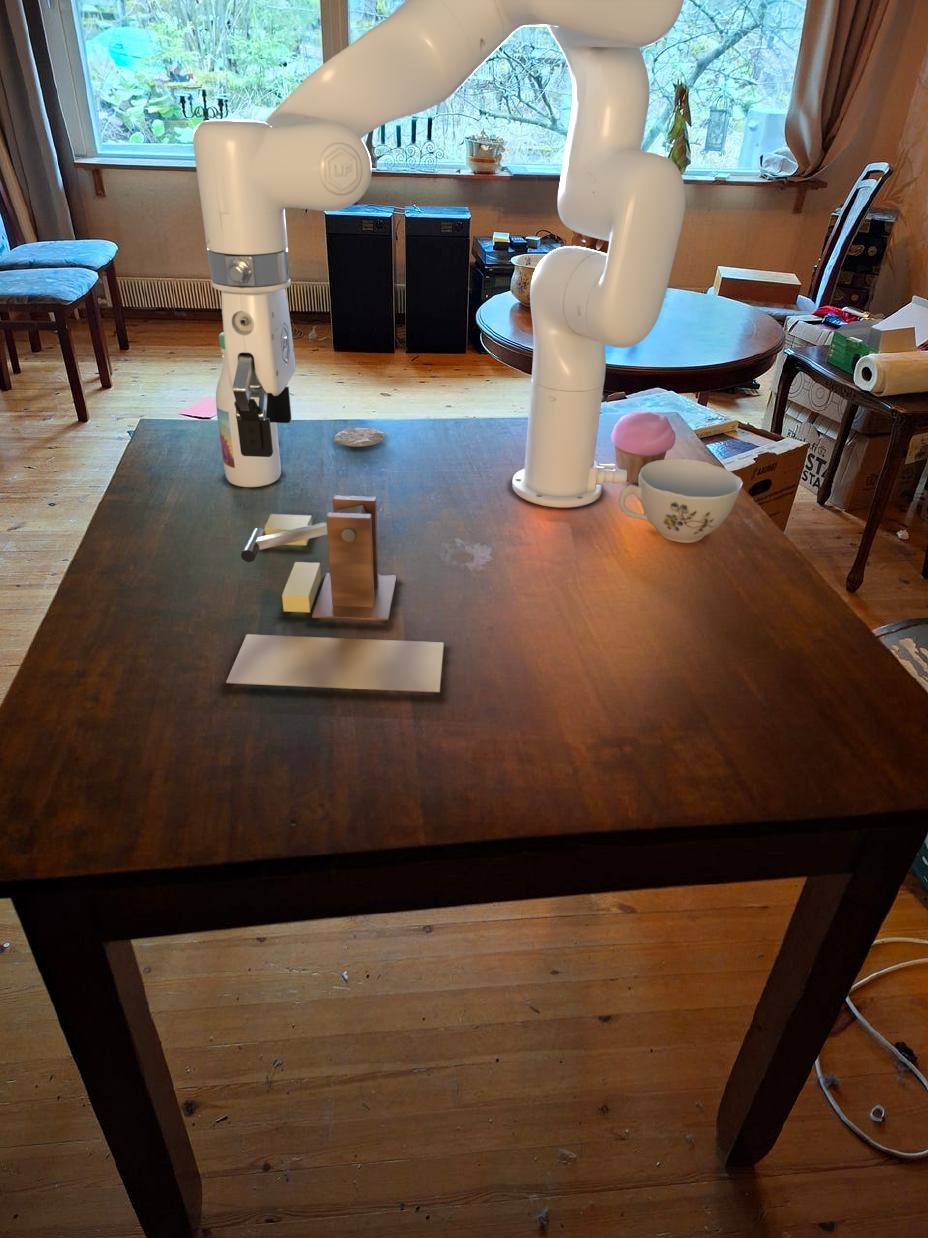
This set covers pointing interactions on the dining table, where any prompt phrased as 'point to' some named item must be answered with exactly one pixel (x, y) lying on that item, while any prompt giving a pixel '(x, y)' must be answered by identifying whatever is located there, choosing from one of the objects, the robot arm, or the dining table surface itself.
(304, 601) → the butter stick
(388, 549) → the dining table surface
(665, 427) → the cupcake
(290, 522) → the butter pat
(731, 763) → the dining table surface
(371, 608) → the wooden stand
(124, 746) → the dining table surface
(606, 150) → the robot arm
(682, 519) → the teacup
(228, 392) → the milk bottle
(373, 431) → the flatbread
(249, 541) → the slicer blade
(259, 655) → the serving board
